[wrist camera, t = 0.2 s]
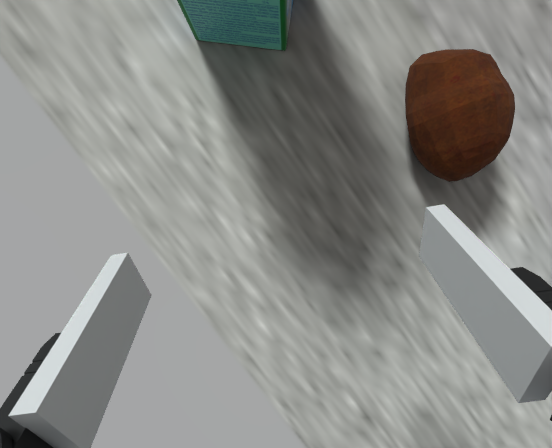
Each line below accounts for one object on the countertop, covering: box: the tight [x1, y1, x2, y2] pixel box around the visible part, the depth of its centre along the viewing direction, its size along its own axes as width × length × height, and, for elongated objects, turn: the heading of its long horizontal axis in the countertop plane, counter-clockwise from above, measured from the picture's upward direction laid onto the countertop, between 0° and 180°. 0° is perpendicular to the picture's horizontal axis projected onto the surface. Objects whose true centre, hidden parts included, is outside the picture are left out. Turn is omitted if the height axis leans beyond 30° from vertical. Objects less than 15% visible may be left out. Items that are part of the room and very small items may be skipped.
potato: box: [405, 49, 515, 182], centre depth 25 cm, size 8×12×8 cm, turn 14°
